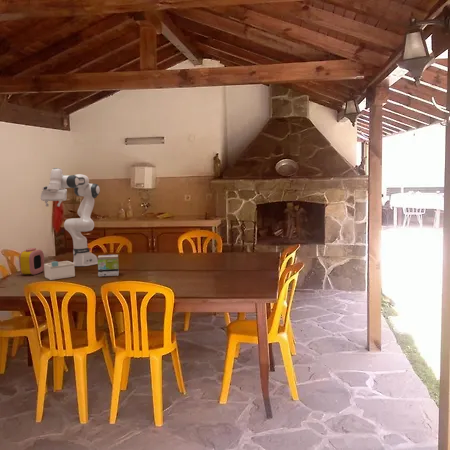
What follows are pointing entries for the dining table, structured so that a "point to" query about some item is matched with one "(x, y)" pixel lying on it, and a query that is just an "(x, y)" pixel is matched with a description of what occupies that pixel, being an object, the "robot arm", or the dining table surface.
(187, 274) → the dining table surface
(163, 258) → the dining table surface
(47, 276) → the carton
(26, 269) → the alarm clock
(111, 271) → the tea box
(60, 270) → the lid flap
